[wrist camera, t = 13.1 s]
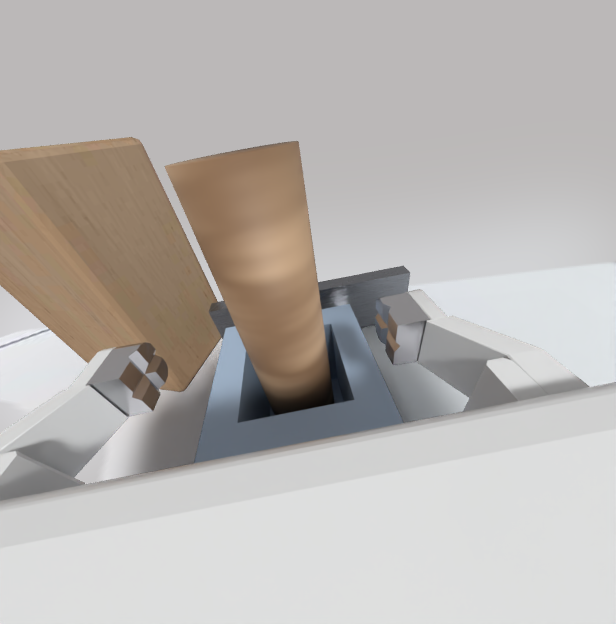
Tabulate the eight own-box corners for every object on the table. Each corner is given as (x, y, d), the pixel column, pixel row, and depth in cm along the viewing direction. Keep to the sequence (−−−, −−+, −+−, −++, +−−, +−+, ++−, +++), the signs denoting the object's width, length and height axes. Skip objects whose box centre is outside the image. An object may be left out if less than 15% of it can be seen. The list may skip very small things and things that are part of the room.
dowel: (330, 389, 19) (293, 139, 9) (342, 442, 15) (305, 142, 6) (280, 399, 18) (187, 159, 9) (281, 454, 15) (139, 173, 6)
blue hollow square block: (353, 373, 22) (349, 303, 17) (392, 489, 15) (406, 428, 10) (257, 391, 22) (225, 328, 17) (250, 518, 15) (192, 471, 10)
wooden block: (168, 323, 33) (53, 155, 21) (231, 325, 31) (141, 135, 18) (108, 384, 26) (-124, 179, 14) (184, 394, 23) (-19, 151, 11)
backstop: (398, 311, 28) (403, 265, 24) (497, 451, 16) (537, 402, 12) (232, 344, 28) (211, 303, 24) (200, 510, 16) (149, 479, 12)
